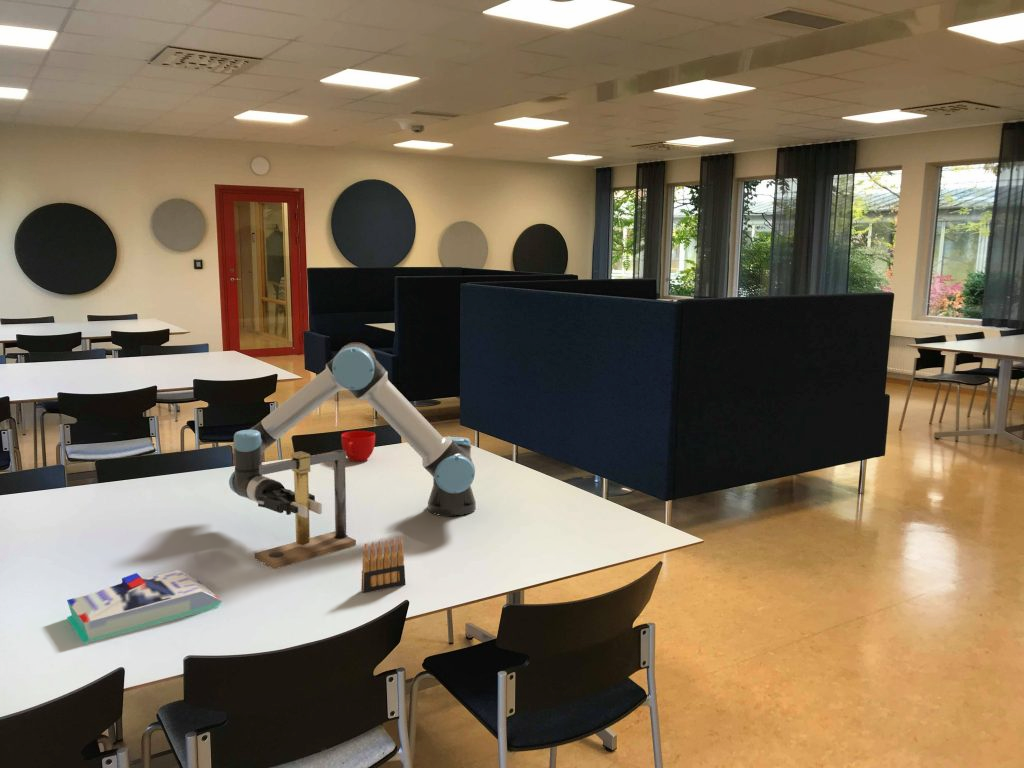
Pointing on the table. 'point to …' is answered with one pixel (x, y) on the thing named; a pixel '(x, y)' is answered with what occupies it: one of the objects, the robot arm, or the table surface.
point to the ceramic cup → (358, 445)
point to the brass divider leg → (302, 495)
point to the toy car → (139, 604)
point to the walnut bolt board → (303, 550)
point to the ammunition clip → (383, 567)
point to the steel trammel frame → (339, 482)
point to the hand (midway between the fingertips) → (313, 510)
